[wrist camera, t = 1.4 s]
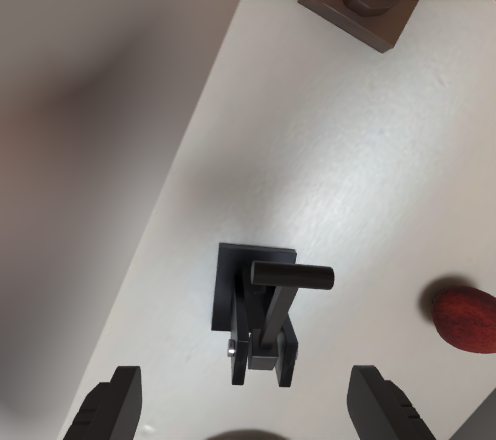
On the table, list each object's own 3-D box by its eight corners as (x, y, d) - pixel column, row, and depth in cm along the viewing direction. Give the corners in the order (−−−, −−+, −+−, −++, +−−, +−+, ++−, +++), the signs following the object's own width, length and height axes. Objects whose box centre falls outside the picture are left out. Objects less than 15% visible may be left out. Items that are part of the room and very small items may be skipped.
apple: (460, 329, 40) (514, 374, 33) (407, 322, 40) (451, 367, 32) (481, 280, 39) (544, 316, 31) (426, 271, 38) (477, 306, 30)
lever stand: (219, 243, 35) (215, 301, 22) (294, 249, 36) (330, 309, 23) (211, 324, 38) (204, 416, 25) (281, 328, 39) (306, 419, 26)
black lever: (253, 249, 19) (254, 281, 17) (330, 256, 19) (338, 288, 17) (232, 341, 28) (231, 368, 26) (285, 344, 28) (287, 371, 26)
